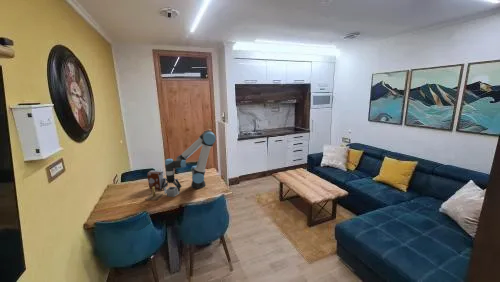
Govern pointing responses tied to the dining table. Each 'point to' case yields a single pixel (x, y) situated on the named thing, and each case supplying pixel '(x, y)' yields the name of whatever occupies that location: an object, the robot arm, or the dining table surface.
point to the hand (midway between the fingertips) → (172, 193)
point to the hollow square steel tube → (171, 191)
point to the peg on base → (153, 195)
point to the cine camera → (155, 179)
